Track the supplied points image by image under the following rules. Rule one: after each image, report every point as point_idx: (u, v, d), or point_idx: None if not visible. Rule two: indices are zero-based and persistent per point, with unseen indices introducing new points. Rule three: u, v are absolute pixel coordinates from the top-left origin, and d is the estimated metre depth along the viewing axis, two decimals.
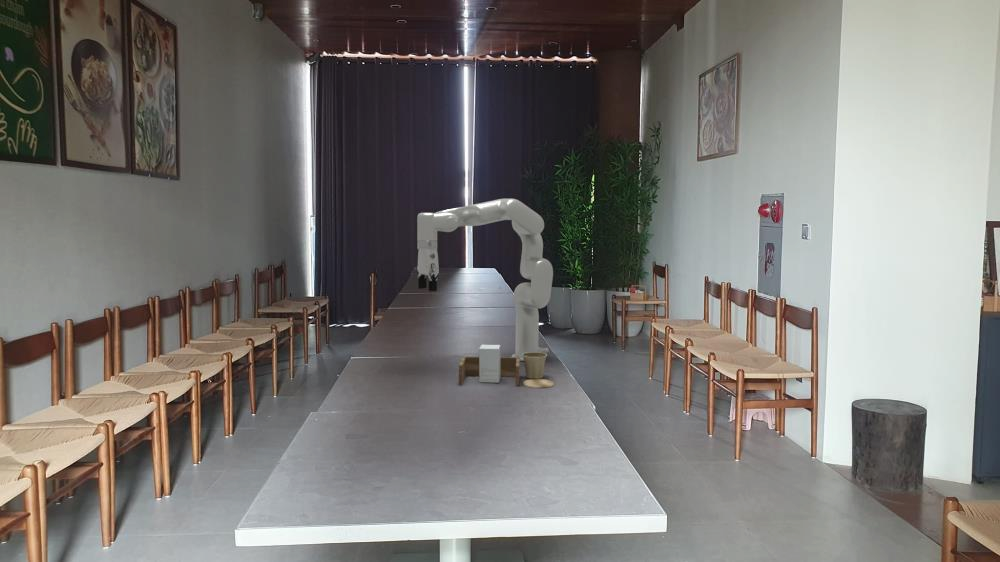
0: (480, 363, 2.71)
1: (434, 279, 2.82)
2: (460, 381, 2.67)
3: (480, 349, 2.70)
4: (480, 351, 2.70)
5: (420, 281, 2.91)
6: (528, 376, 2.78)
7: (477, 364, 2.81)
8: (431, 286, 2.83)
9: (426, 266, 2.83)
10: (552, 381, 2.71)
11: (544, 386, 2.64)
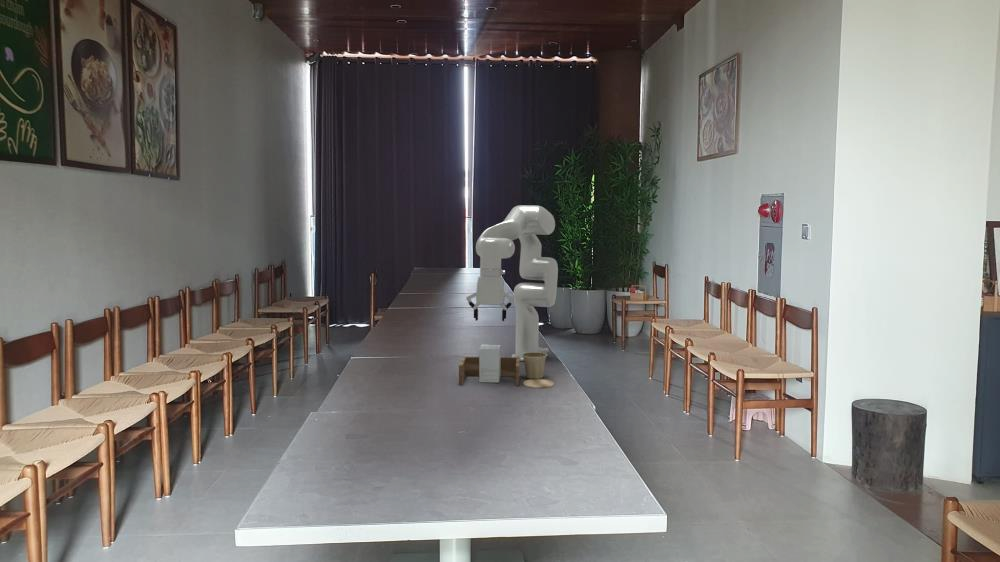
0: (480, 363, 2.71)
1: (507, 308, 2.71)
2: (460, 381, 2.67)
3: (480, 349, 2.70)
4: (480, 351, 2.70)
5: (477, 312, 2.71)
6: (528, 376, 2.78)
7: (477, 364, 2.81)
8: (505, 315, 2.71)
9: (501, 295, 2.69)
10: (552, 381, 2.71)
11: (544, 386, 2.64)
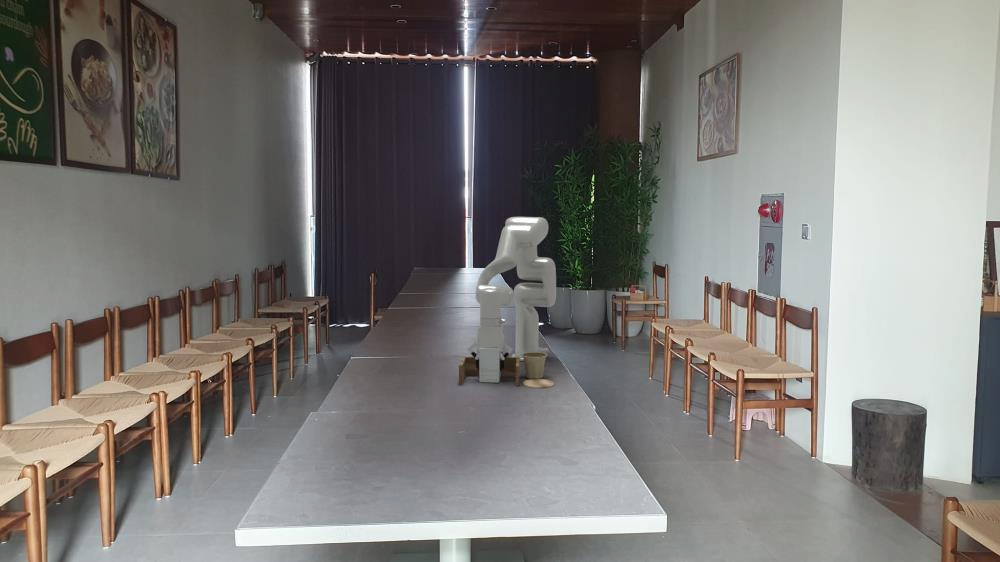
0: (480, 363, 2.71)
1: (505, 357, 2.74)
2: (460, 381, 2.67)
3: (480, 349, 2.70)
4: (480, 351, 2.70)
5: None
6: (528, 376, 2.78)
7: None
8: (503, 365, 2.73)
9: (500, 344, 2.71)
10: (552, 381, 2.71)
11: (544, 386, 2.64)
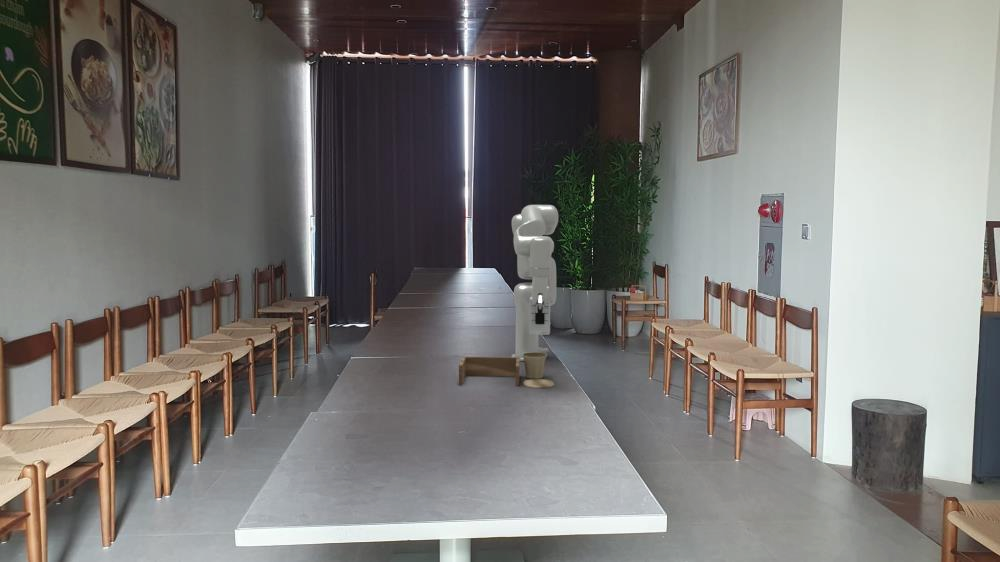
0: (549, 315, 2.63)
1: None
2: (460, 381, 2.67)
3: (549, 300, 2.62)
4: (549, 302, 2.63)
5: None
6: (528, 376, 2.78)
7: (477, 364, 2.81)
8: None
9: None
10: (552, 381, 2.71)
11: (544, 386, 2.64)
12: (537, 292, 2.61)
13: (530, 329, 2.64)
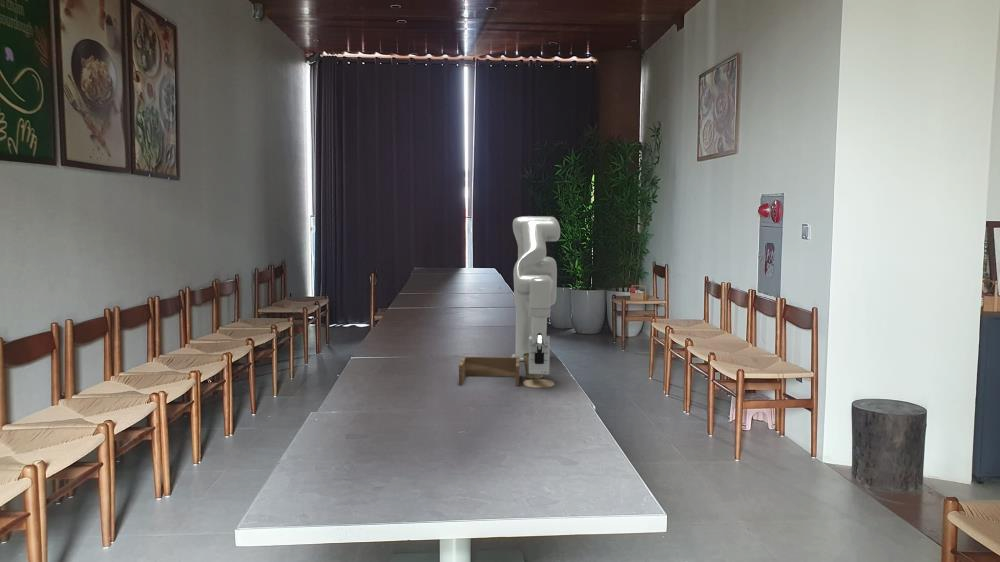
0: (549, 354, 2.65)
1: None
2: (460, 381, 2.67)
3: (549, 340, 2.64)
4: (549, 342, 2.64)
5: None
6: (528, 376, 2.78)
7: (477, 364, 2.81)
8: None
9: None
10: (552, 381, 2.71)
11: (544, 386, 2.64)
12: (536, 332, 2.62)
13: (530, 368, 2.65)
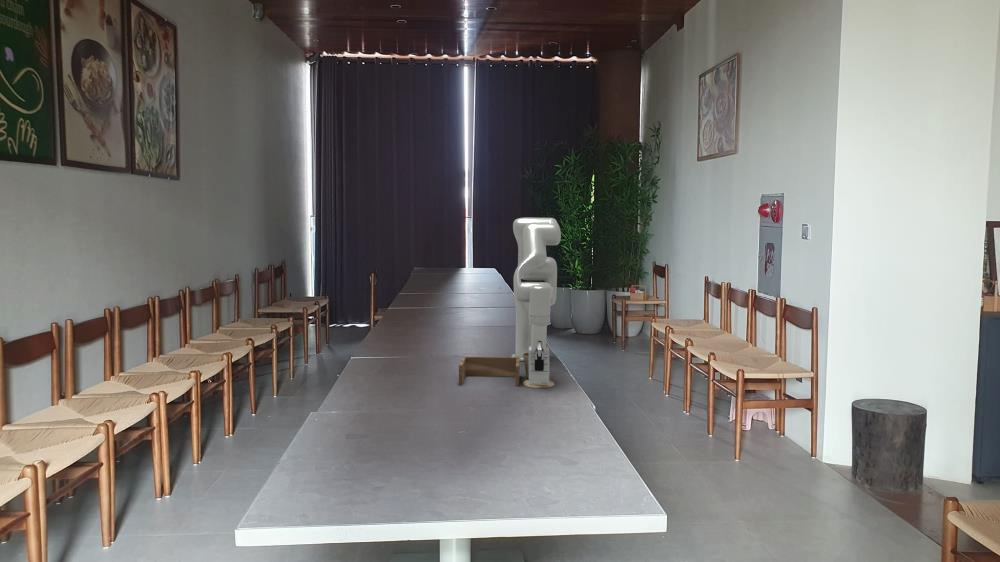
0: None
1: None
2: (460, 381, 2.67)
3: (548, 351, 2.64)
4: (548, 353, 2.64)
5: None
6: (528, 376, 2.78)
7: (477, 364, 2.81)
8: None
9: None
10: (552, 381, 2.71)
11: (544, 386, 2.64)
12: (536, 340, 2.62)
13: (530, 380, 2.65)
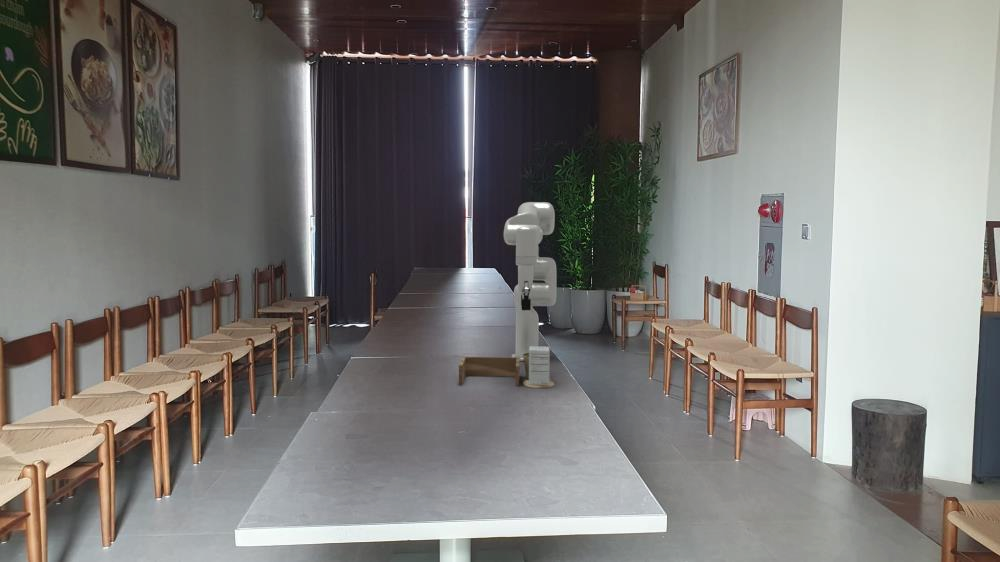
0: (549, 365, 2.65)
1: None
2: (460, 381, 2.67)
3: None
4: (549, 353, 2.64)
5: None
6: (528, 376, 2.78)
7: (477, 364, 2.81)
8: None
9: None
10: (552, 381, 2.71)
11: (544, 386, 2.64)
12: (523, 280, 2.66)
13: (530, 380, 2.65)
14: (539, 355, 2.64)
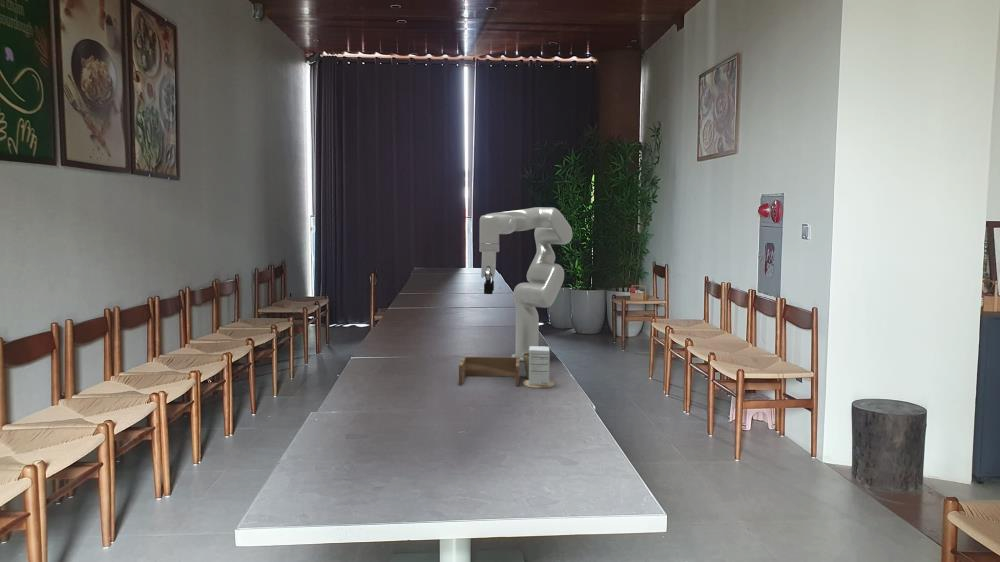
0: (549, 365, 2.65)
1: None
2: (460, 381, 2.67)
3: None
4: (549, 353, 2.64)
5: None
6: (528, 376, 2.78)
7: (477, 364, 2.81)
8: None
9: None
10: (552, 381, 2.71)
11: (544, 386, 2.64)
12: (485, 265, 2.82)
13: (530, 380, 2.65)
14: (539, 355, 2.64)
